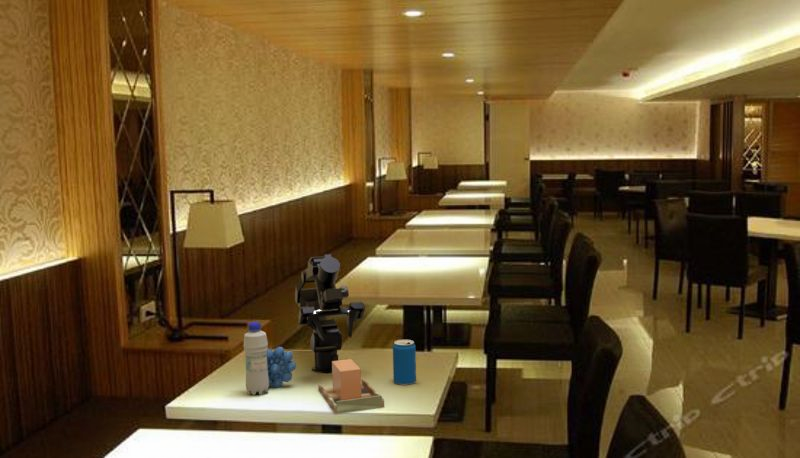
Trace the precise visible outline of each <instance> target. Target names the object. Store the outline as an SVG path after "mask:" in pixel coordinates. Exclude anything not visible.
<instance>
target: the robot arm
mask: <svg viewBox="0 0 800 458" xmlns="http://www.w3.org/2000/svg"><path fill="white" fill-rule="evenodd" d="M340 267H341V262H339V260H338V259H337V258H335V257H332V254H331V253H327V254H324V255H322V256H310V258H309V260H308V261H307V268H305V270H302V271H301V275H300V276H301V277H300V279H299V280H298V281H297V283H296V284H295V288H294V290H295V292H294V301H295V304H296V305H298V308H299V312H298V324H299V325H304V326H305V325H306V327H309V328H311V329H312V331H313V332H311V338H310V342H309V343H310V350H311V351H312V352H313V353H314V365H315V366H314V367H312V368H311V370H312V371H314V372H315V371H316V372H318V373H319V372H321V373H326V374H330V373H332V361H339V354H338V351H341V350H342V345H343V344H342V343H343V336H344V335H343V333H342V331H341V329H339V327H338V324H337V323H336V321H335V319H333V318H331V319H328V317H337V316H346V321H345V322H346V327H347V333H348V337H349V338H352V336H353V328H354V322H355V323H356V322H357V320H361V319H363V317H364V313H365V309H366V308H365V303H363V302H362V301H353V302H351V301H350V302H349V305H348V307H341V306H343V300H344V299H346V298H348V297H349V288H348V286H347V285H342V286H340V287H339V288H337V286H336V281H337V279H338V276H339V275H338V274H339V272H340ZM306 283H314V284H315V287H311V288H310V287H309V288H303V287H304V286H305V285H306Z"/></svg>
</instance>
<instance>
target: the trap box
mask: <svg viewBox="0 0 800 458" xmlns="http://www.w3.org/2000/svg"><path fill="white" fill-rule="evenodd" d="M317 386H318V387H317V388H318V392H319V393H320V394H321V396H322V397H323V398H324V400H325V401H326V403H327V404H328V406H329V407H330V409H331V410H332V411H333V413H334V414H335V415H337V414H345V413H353V412H359V411H360V412H361V411H366V410H374V409H380V408H385V399H384V396H382V395H381V394H380V393H379V392H378V391H376V390H375V388H373V387H372V386H371V385H370V384H369V383H368V381H366V379H365V378H363V377H361V398H357V399H349V400H342V401H341V400H340V398H339V397H338V396H337V394H336V393H335V392H334V390H333V387H328V388H324V387H323V385H322V384H321V383H317Z"/></svg>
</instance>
